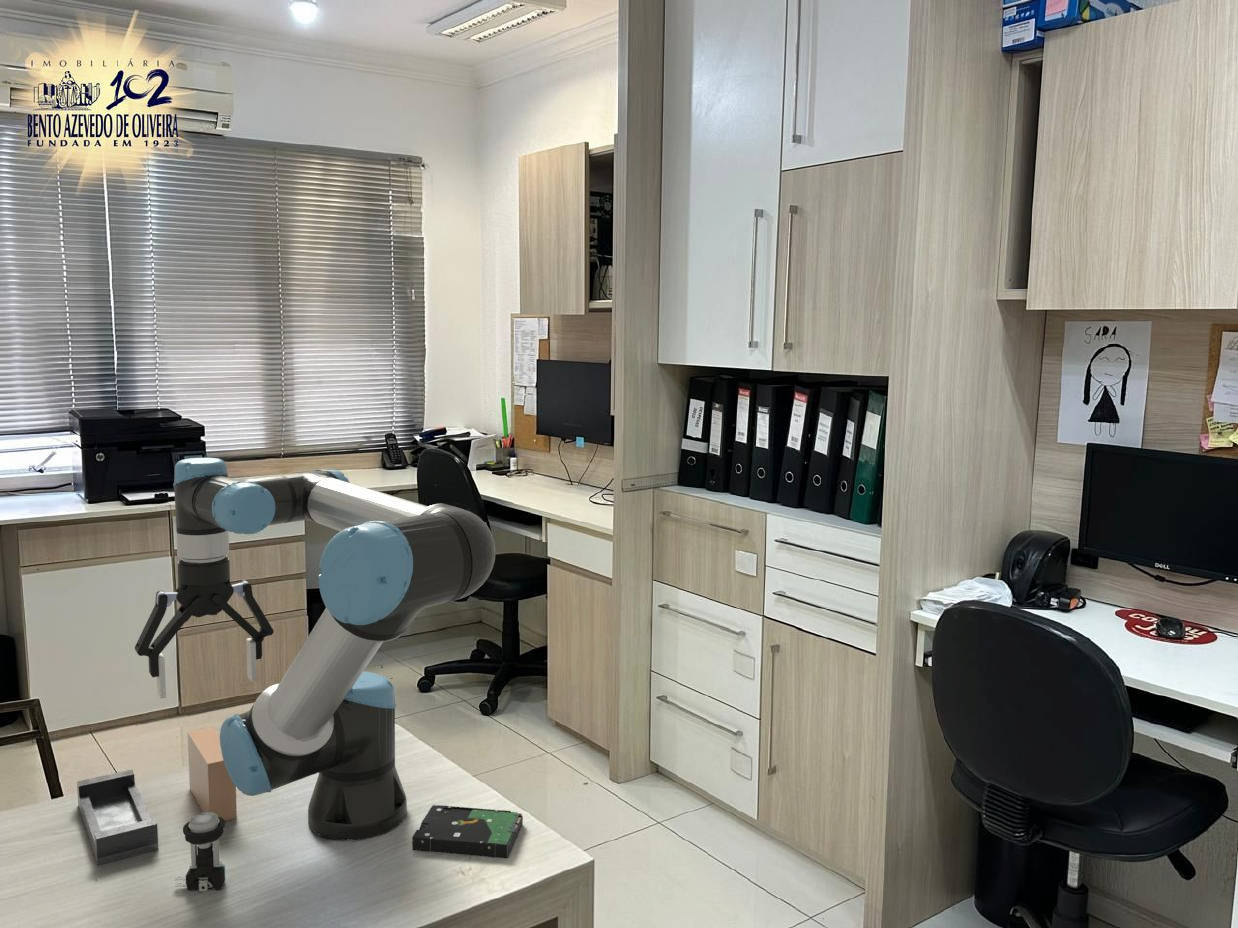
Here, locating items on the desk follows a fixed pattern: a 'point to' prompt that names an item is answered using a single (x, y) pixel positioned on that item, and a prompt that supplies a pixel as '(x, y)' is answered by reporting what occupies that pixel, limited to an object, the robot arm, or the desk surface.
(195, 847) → the push button
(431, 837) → the disk drive
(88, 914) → the desk surface
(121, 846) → the dark grey tray
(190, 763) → the orange rectangular block
